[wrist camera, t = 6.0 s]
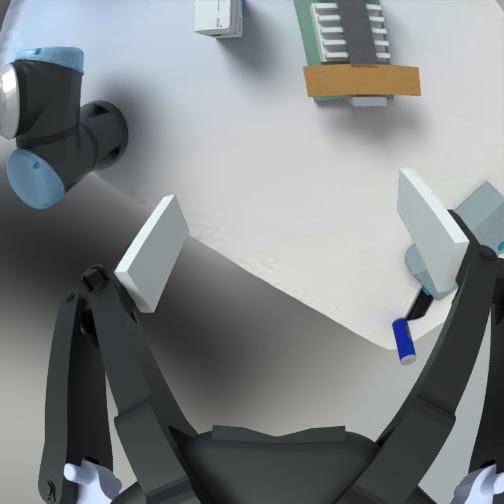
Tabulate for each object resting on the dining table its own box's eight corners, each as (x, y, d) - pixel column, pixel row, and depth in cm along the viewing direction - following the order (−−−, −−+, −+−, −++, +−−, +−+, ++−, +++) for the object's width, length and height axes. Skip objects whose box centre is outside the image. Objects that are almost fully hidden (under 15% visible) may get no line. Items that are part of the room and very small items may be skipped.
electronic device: (396, 253, 59) (408, 283, 52) (486, 174, 42) (510, 197, 34) (424, 283, 65) (435, 311, 57) (503, 218, 47) (522, 241, 39)
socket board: (313, 100, 40) (323, 112, 31) (287, -22, 25) (288, -45, 17) (389, 97, 37) (417, 111, 28) (368, -22, 22) (391, -40, 14)
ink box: (214, -3, 29) (193, -19, 20) (243, -5, 28) (231, -23, 20) (213, 38, 34) (192, 33, 25) (243, 37, 34) (230, 30, 25)
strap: (307, 96, 33) (308, 97, 31) (280, -24, 21) (280, -28, 20) (416, 95, 29) (422, 96, 28) (395, -21, 18) (399, -24, 16)
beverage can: (407, 322, 76) (417, 362, 65) (393, 327, 78) (401, 367, 67) (405, 314, 74) (416, 355, 62) (390, 320, 76) (399, 361, 64)
